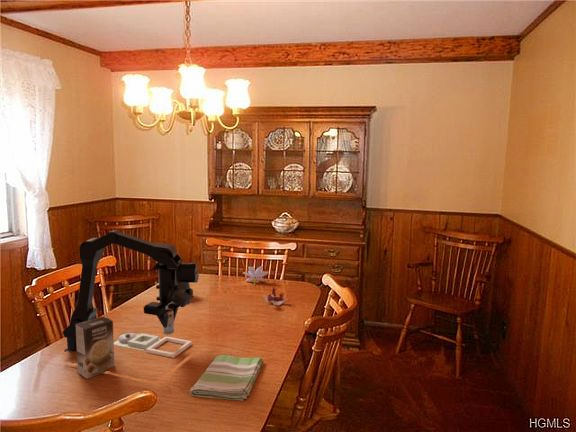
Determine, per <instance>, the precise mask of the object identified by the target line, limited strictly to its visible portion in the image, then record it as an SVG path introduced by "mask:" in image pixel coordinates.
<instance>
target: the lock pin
mask: <svg viewBox="0 0 576 432" xmlns="http://www.w3.org/2000/svg"><path fill="white" fill-rule="evenodd" d="M168 309H169V310H171V311H170V312H169V313H168V319H167V327H166V328H164V327H163V326H162V327H163V329H162V330H163V334H164V335H172V334H174V333H175V320H174V310H173V309H171V308H168Z"/></svg>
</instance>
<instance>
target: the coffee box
mask: <svg viewBox="0 0 576 432" xmlns="http://www.w3.org/2000/svg"><path fill="white" fill-rule="evenodd" d="M114 342H115V341H114V321H113V320H112V319H110V318H108V317H106V316H100V317H97V318H96V319H92V320H88V321H84V322H81V323H77V324H76V343H77V351H76V360H77V361H76V364H77V365H76V366H77V373H78V374H79V375H81V376H82V377H84V378H85V379H86V380H87V379H90V378H93V377H95V376H98V375H101V374H103V373H106V372H109V370H108V369H110V368H112V367H115V345H114Z"/></svg>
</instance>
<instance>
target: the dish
mask: <svg viewBox="0 0 576 432" xmlns="http://www.w3.org/2000/svg"><path fill="white" fill-rule="evenodd" d="M160 339H161V340H160V341H158V342H156V343H155V344H153V345H152V346H150V347H148V348H147V349H146V350H145V353H149V354H152V355H157V356H163V357H166V358H167V357H168V358H173V359H174V358H175V357H176V356H178V355H179V354H180V353H183V352H184V351H185V350H187V349H188V348H189V347H190V346H191V345H193V342H192V340H187V339H182V338H176V337H171V336H164V337H163V338H160ZM166 342H169V343H176V344H181V345H182V346H180V347H179V348H177V349H176V350H175V351H173V352H171V351H166V350H161V349H157V348H158V347H160V346H161V345H162V344H164V343H166Z"/></svg>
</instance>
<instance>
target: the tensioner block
mask: <svg viewBox="0 0 576 432" xmlns="http://www.w3.org/2000/svg"><path fill="white" fill-rule="evenodd" d="M161 339H162V338H160V336H159V335H153V334H148V333H143V332H141V333H140V334H137V333H133V332H128V333H123V334H121V335H119V336H118V340H116V341H114V346H119V347H123V348H129V349H134V350H137V351H144V352H145V351H146V349H147V348H148V347H150V346H152V345H153V344H155V343H156V342H158V341H160V340H161Z"/></svg>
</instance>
